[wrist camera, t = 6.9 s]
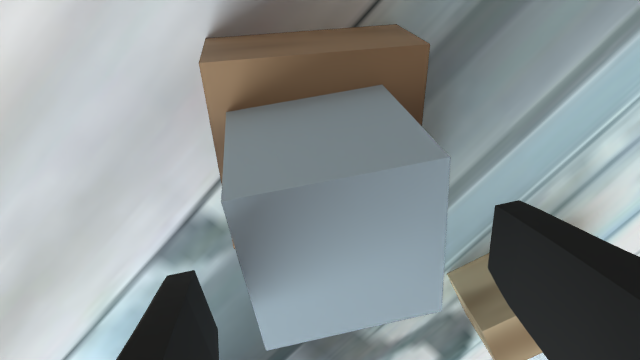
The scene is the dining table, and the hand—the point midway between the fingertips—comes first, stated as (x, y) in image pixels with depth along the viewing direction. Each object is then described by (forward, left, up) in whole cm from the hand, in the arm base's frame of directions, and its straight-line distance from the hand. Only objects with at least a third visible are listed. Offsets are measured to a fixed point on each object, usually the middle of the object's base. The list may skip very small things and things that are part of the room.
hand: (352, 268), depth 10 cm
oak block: (-12, -9, -9) cm, 17 cm away
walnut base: (0, 0, -9) cm, 9 cm away
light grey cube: (0, 0, -5) cm, 5 cm away
